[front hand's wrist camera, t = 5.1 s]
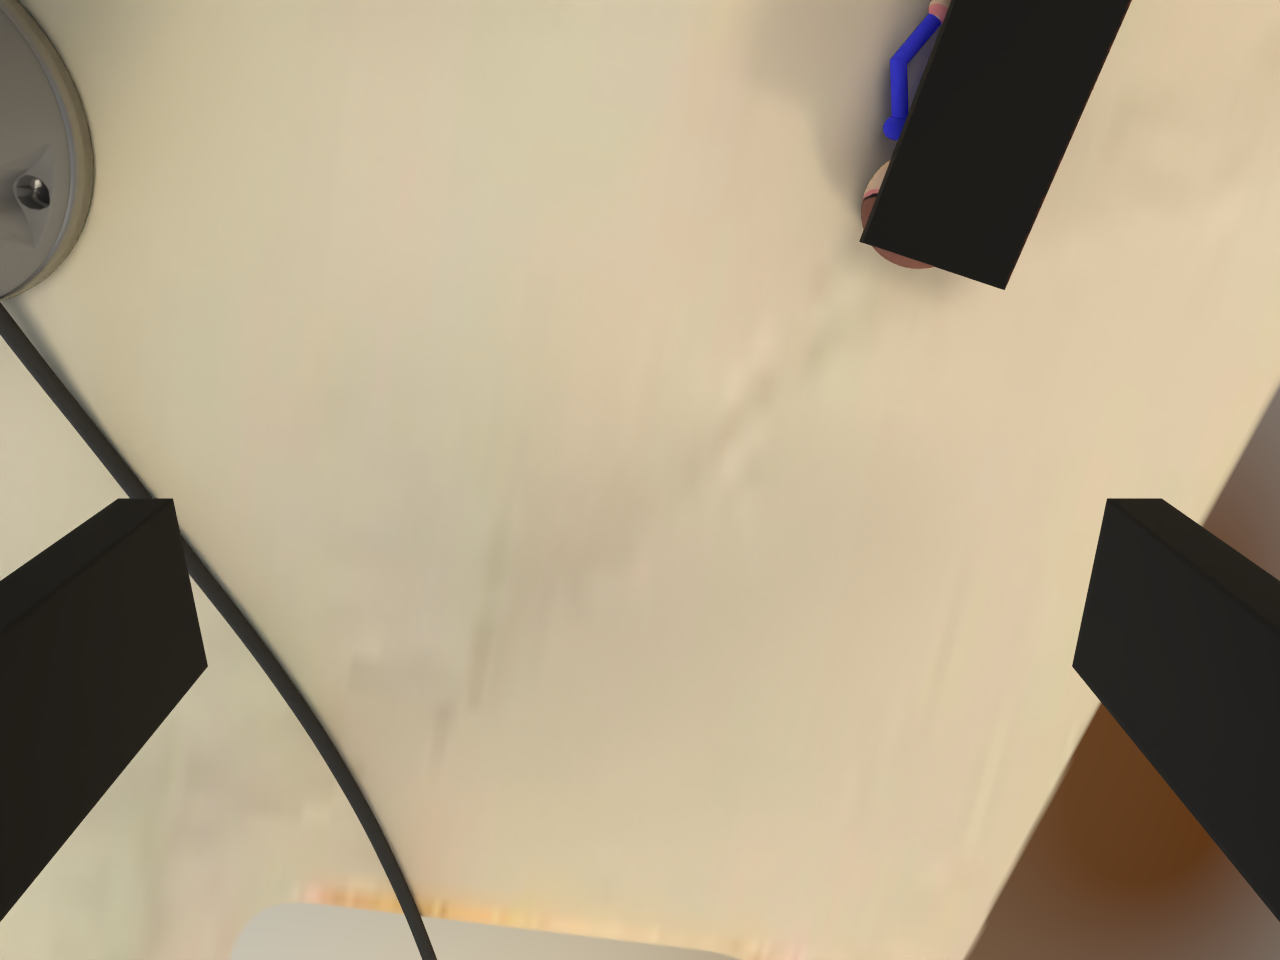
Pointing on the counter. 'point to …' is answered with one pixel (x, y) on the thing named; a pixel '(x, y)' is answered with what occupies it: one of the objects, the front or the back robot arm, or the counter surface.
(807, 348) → the counter surface
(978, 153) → the figurine character
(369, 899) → the counter surface
